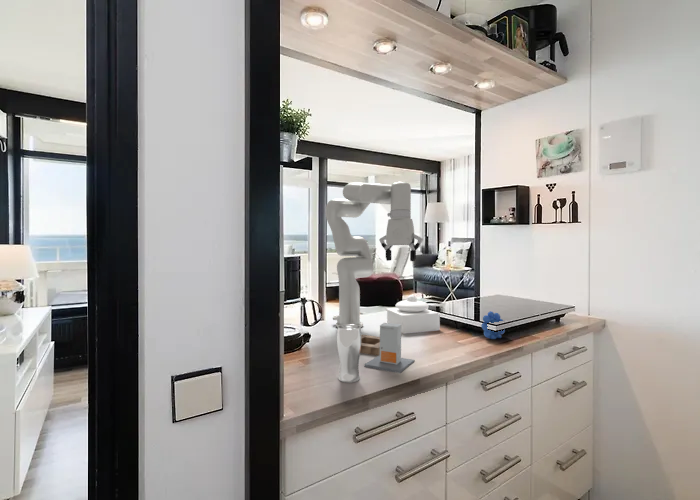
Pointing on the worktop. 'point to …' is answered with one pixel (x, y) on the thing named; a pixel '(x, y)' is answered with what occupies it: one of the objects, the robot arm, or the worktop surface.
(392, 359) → the skincare box
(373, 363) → the slate mat
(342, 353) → the beer glass
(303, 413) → the worktop surface
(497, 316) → the grapes
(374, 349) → the walnut collar
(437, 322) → the butter dish
